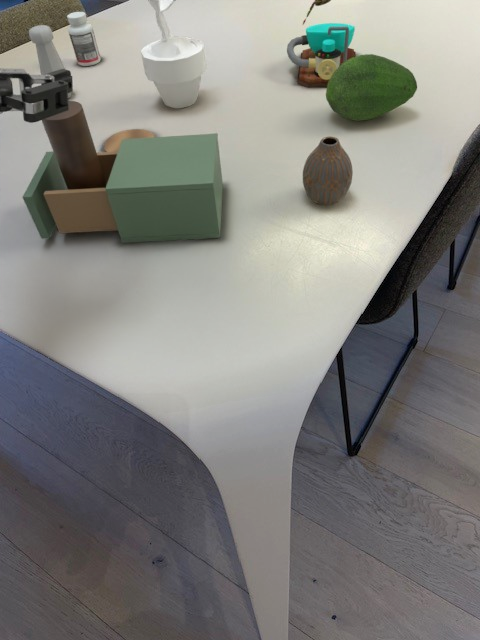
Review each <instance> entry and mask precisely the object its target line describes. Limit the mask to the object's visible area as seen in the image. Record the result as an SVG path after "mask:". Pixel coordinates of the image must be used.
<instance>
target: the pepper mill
mask: <svg viewBox="0 0 480 640" xmlns="http://www.w3.org/2000/svg"><path fill="white" fill-rule="evenodd" d="M68 104H69V110H68V111H65V112H62V113H59V114H57V115H54V116H51V117H49V118H46V119H43V120H41V123H42V126H43V128H44V130H45V133H46V136H47V138H48V141H49V144H50V146H51V149H52V152H54V154H55V157H56V160H57V162H58V165H59V167H60V170H61V173H62V175H63V178H64V181H65V183H66V186H67V189H68V190H73V189H91V188H106V186H107V185H106V182H105V178H104V175H103V172H102V169H101V165H100V162H99V159H98V156H97V153H98V152H97V150H96V146H95V143H94V140H93V136H92V133H91V130H90V127H89V124H88V119H87V117H86V114H85V111H84V107H83V104H81V103H80V102H79V101H75V100H68Z"/></svg>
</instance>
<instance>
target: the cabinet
mask: <svg viewBox="0 0 480 640" xmlns="http://www.w3.org/2000/svg"><path fill="white" fill-rule="evenodd" d="M221 165H222V164H221V155H220V147H219V138H218V133H204V134H202V133H201V134H187V135H170V136H155V137H152V138H135V139H122V142H121V144H120V147H119V150H118V153H117V156H116V159H115V162H114V165H113V168H112V171H111V174H110V177H109V180H108V183H107V186H106V189H105V190H106V193H107V196H108V199H109V203H110V206H111V209H112V212H113V215H114V219H115V222H116V225H117V228H118V230H117V232H118V234H119V238H120V240H121V243H123V244H125V243H144V242H162V241H163V242H164V241H185V240H186V241H187V240H203V239H204V240H207V239H220V238H221V227H222V226H221V225H222V212H223V209H222V208H223V193H224V190H223V189H224V183H223V173H222V166H221Z"/></svg>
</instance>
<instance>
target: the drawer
mask: <svg viewBox="0 0 480 640" xmlns="http://www.w3.org/2000/svg"><path fill="white" fill-rule="evenodd" d="M117 153H118V151H115V152H105V151H99V152H97V156H98V159H99V162H100V165H101V169H102V172H103V175H104V178H105V182H106V185H107V183H108V180H109V177H110V174H111V171H112V168H113V165H114V162H115V159H116V156H117ZM105 189H106V188H91V189H73V190H68V189H67V186H66V183H65V181H64V178H63V175H62V173H61V170H60V167H59V165H58V162H57V160H56V157H55V154H54V152H53V151H46V152H45V154H44V156H43V158H42V159H41V161H40V163H39V165H38V167H37V169H36V171H35V173H34V174H33V176H32V178H31V180H30V182H29V184H28V186H27V187H26V190H25V191H24V193H23V195H22V200H23V202H24V204H25V206H26V208H27V210H28V212H29V215H30V217H31V219H32V221H33V223H34V226H35V228H36V230H37V232H38V234H39V236H40V238H41V240H48V239H51V237H52V235H53V232H54V230H55V227H57V231H58V232H59V234H67V233H69V234H70V233H88V232H109V231H118V228H117V225H116V222H115V219H114V215H113V212H112V209H111V206H110V203H109V199H108V196H107V193H106V190H105Z"/></svg>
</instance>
